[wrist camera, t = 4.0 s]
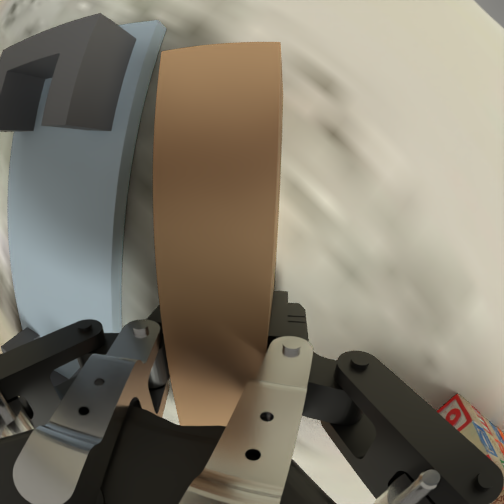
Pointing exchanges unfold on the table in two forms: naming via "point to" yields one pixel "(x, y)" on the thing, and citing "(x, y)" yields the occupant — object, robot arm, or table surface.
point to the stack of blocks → (476, 431)
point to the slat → (216, 218)
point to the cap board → (72, 169)
